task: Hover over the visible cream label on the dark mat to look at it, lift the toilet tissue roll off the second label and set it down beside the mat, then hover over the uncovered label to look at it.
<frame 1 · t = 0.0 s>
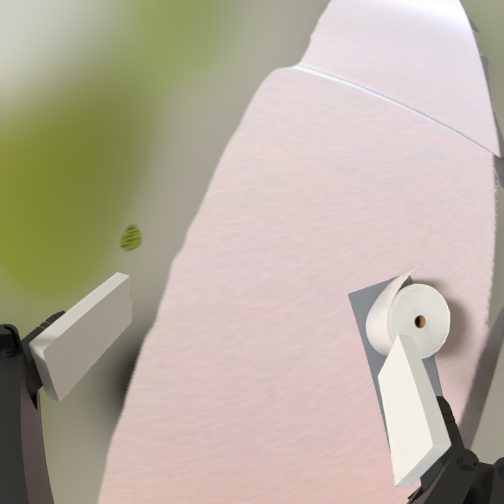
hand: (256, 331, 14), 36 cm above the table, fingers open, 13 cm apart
label mat: (404, 366, 46), on the table
toilet tissue: (392, 322, 48), resting on label mat
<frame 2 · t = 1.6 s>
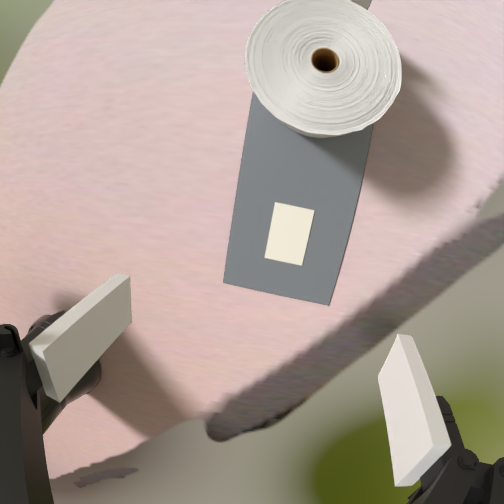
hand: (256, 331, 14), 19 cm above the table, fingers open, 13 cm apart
label mat: (304, 156, 29), on the table
toilet tissue: (318, 79, 26), resting on label mat
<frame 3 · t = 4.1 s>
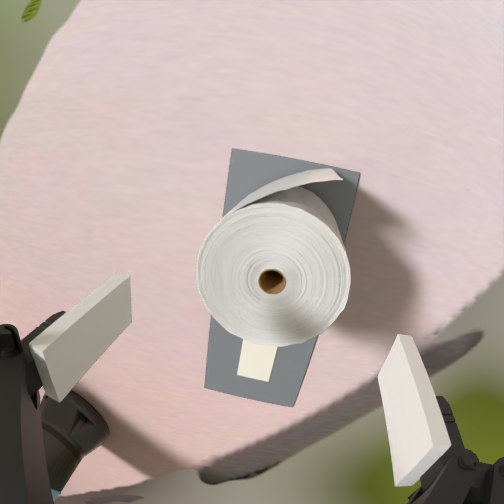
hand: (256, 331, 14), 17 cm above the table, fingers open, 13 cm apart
label mat: (268, 303, 33), on the table
toilet tissue: (282, 231, 30), resting on label mat
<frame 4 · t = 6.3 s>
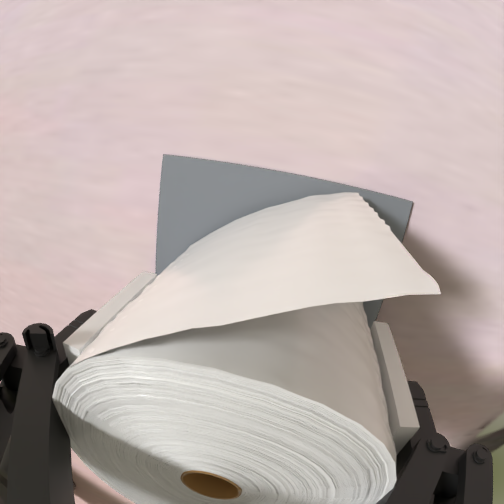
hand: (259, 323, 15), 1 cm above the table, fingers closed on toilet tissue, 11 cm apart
label mat: (242, 406, 19), on the table
toilet tissue: (260, 307, 16), resting on label mat, touching gripper
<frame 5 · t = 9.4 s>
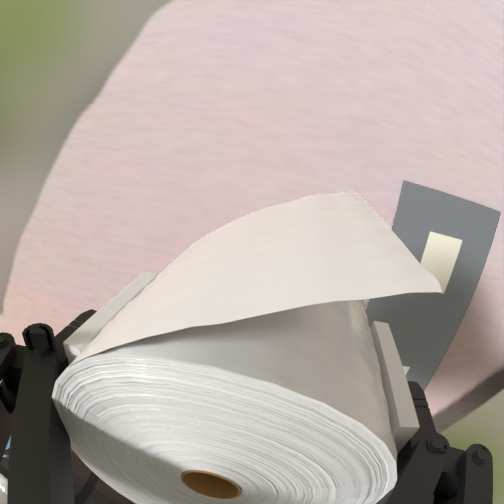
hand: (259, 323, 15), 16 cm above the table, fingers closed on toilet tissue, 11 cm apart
label mat: (411, 329, 31), on the table
toilet tissue: (260, 307, 16), point 14 cm above the table, touching gripper
when the fingers open (3 cm above the table, at t = 12.8 s): toilet tissue drops 2 cm, on the table.
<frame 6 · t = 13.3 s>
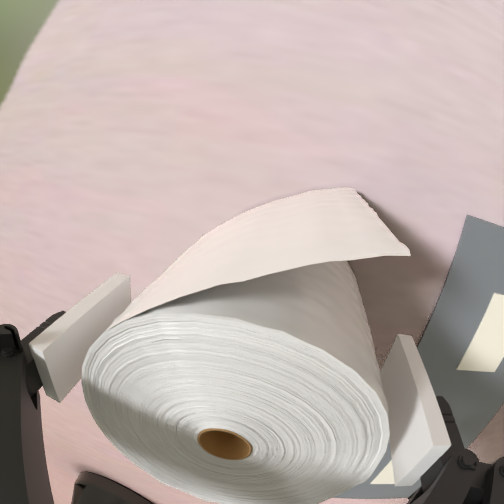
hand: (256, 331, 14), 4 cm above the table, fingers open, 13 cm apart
label mat: (444, 416, 19), on the table
toilet tissue: (265, 293, 18), on the table
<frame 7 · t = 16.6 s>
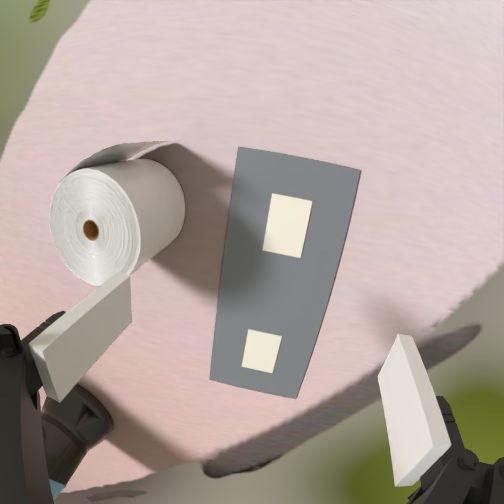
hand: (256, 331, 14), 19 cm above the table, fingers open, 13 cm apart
label mat: (273, 295, 34), on the table
toilet tissue: (143, 199, 34), on the table
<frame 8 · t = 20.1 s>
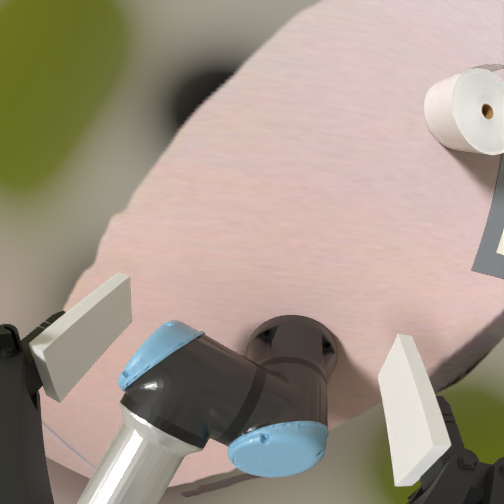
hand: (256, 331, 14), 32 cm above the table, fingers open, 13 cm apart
toilet tissue: (453, 110, 35), on the table
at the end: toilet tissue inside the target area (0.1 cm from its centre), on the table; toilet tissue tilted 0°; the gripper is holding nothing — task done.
